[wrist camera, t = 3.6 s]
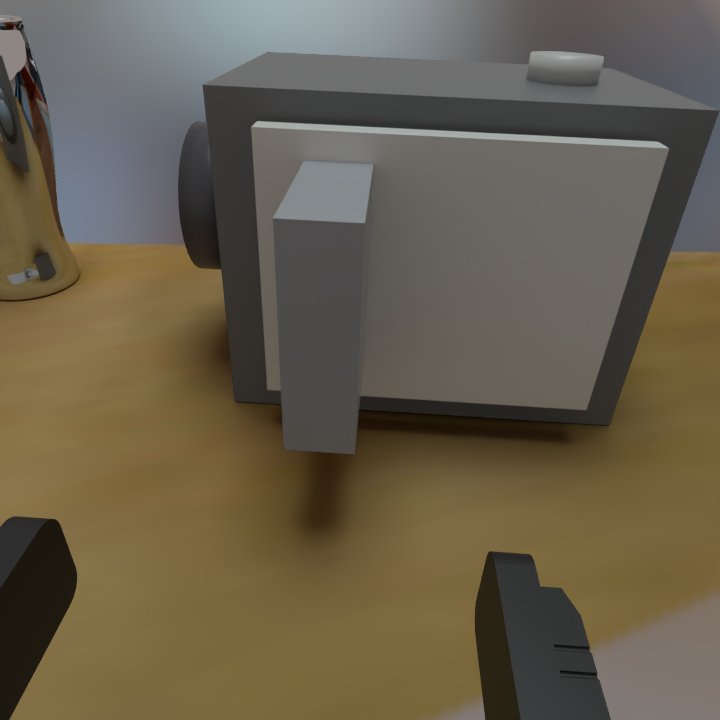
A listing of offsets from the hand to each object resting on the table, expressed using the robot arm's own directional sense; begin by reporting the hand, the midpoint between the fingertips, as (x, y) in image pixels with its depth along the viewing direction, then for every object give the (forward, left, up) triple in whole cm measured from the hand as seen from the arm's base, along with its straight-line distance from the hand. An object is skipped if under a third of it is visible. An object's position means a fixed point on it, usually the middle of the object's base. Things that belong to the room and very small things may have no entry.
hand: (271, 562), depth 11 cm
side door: (+3, -11, -6) cm, 13 cm away
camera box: (+10, -19, -8) cm, 23 cm away
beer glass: (+33, -10, -8) cm, 35 cm away
